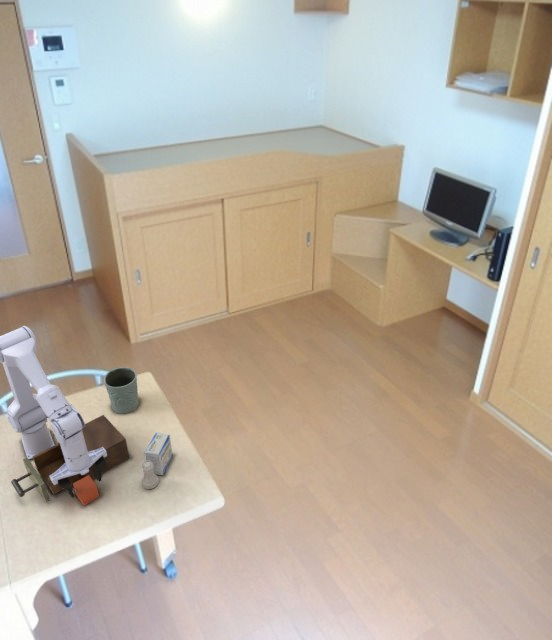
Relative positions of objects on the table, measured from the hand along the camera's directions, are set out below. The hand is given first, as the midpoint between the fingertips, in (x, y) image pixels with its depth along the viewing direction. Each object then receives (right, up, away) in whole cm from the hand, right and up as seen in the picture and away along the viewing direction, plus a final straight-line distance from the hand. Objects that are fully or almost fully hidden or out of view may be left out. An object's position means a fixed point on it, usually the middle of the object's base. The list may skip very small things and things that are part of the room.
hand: (85, 487), depth 141 cm
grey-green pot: (+2, +16, +33) cm, 37 cm away
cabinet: (-2, +4, +14) cm, 14 cm away
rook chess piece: (+16, -1, +6) cm, 17 cm away
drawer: (-11, 0, +6) cm, 13 cm away
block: (0, -3, +2) cm, 4 cm away
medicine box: (+18, +3, +12) cm, 21 cm away
